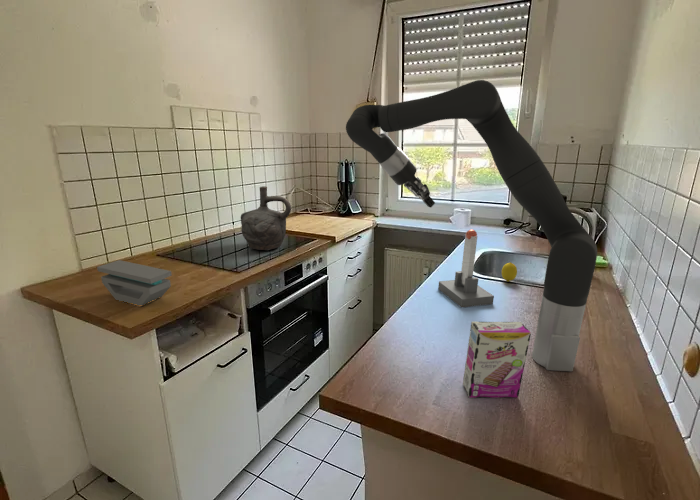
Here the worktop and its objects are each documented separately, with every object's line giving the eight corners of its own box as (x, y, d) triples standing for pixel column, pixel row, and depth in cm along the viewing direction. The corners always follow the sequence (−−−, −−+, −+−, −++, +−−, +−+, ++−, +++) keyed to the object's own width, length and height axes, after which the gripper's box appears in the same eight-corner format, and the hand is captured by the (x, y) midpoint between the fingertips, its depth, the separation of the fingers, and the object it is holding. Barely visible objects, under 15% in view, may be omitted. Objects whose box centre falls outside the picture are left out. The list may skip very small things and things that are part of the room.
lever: (473, 287, 130) (480, 230, 124) (464, 288, 129) (470, 231, 123) (466, 283, 133) (473, 228, 127) (457, 284, 132) (464, 228, 126)
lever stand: (492, 304, 126) (495, 282, 124) (461, 307, 123) (464, 285, 121) (466, 286, 141) (469, 266, 139) (438, 288, 138) (440, 268, 136)
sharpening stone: (103, 296, 128) (97, 266, 124) (124, 288, 134) (119, 260, 131) (155, 311, 118) (150, 279, 115) (175, 301, 125) (171, 271, 122)
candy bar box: (469, 399, 81) (478, 332, 76) (462, 384, 85) (469, 320, 80) (520, 399, 81) (532, 332, 76) (510, 384, 86) (520, 320, 81)
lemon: (516, 285, 143) (519, 265, 140) (501, 283, 144) (504, 264, 142) (513, 279, 148) (516, 260, 146) (499, 278, 149) (501, 259, 147)
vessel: (292, 241, 196) (290, 183, 187) (292, 253, 176) (290, 190, 167) (245, 242, 193) (241, 183, 184) (239, 255, 172) (234, 190, 163)
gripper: (415, 158, 104) (450, 200, 111) (397, 155, 117) (430, 193, 123) (397, 177, 105) (433, 218, 112) (381, 172, 117) (414, 209, 124)
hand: (431, 205), depth 117 cm, fingers closed
